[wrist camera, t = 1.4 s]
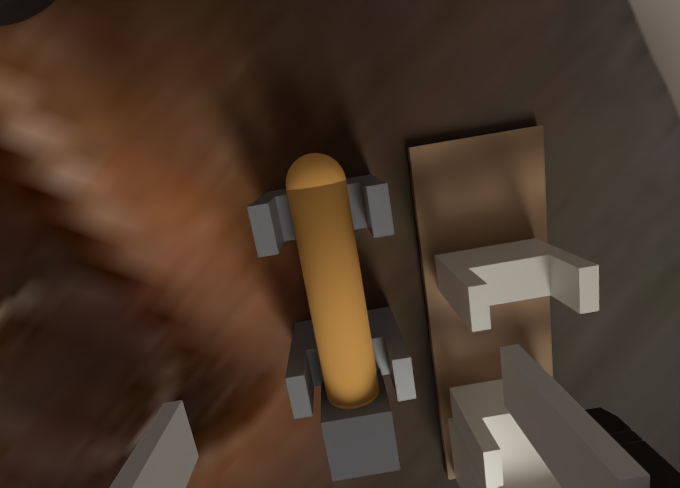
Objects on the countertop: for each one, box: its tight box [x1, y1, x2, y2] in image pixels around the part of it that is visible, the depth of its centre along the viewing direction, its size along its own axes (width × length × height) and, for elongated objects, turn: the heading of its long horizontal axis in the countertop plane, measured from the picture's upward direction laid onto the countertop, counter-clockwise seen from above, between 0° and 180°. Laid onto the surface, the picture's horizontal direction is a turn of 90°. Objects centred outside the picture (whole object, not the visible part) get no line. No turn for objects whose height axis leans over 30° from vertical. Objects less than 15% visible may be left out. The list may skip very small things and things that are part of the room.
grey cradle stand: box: [247, 174, 416, 419], centre depth 28 cm, size 14×8×8 cm, turn 9°
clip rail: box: [407, 125, 553, 480], centre depth 33 cm, size 30×10×1 cm, turn 9°
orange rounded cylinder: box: [286, 153, 400, 481], centre depth 25 cm, size 20×4×4 cm, turn 9°
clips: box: [435, 238, 599, 488], centre depth 30 cm, size 22×9×7 cm, turn 9°
